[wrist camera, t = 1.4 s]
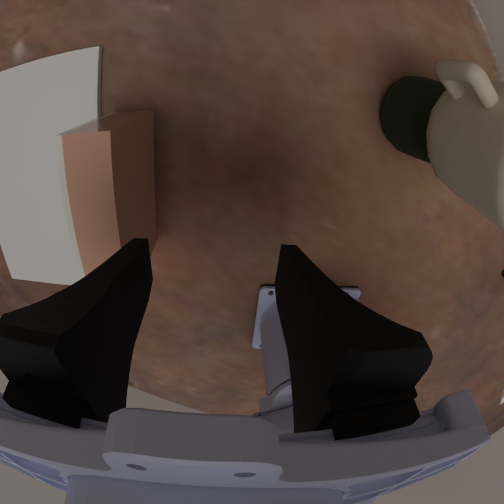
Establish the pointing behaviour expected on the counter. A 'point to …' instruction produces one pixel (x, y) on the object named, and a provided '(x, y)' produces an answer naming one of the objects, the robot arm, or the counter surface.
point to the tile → (108, 185)
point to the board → (41, 159)
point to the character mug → (454, 130)
